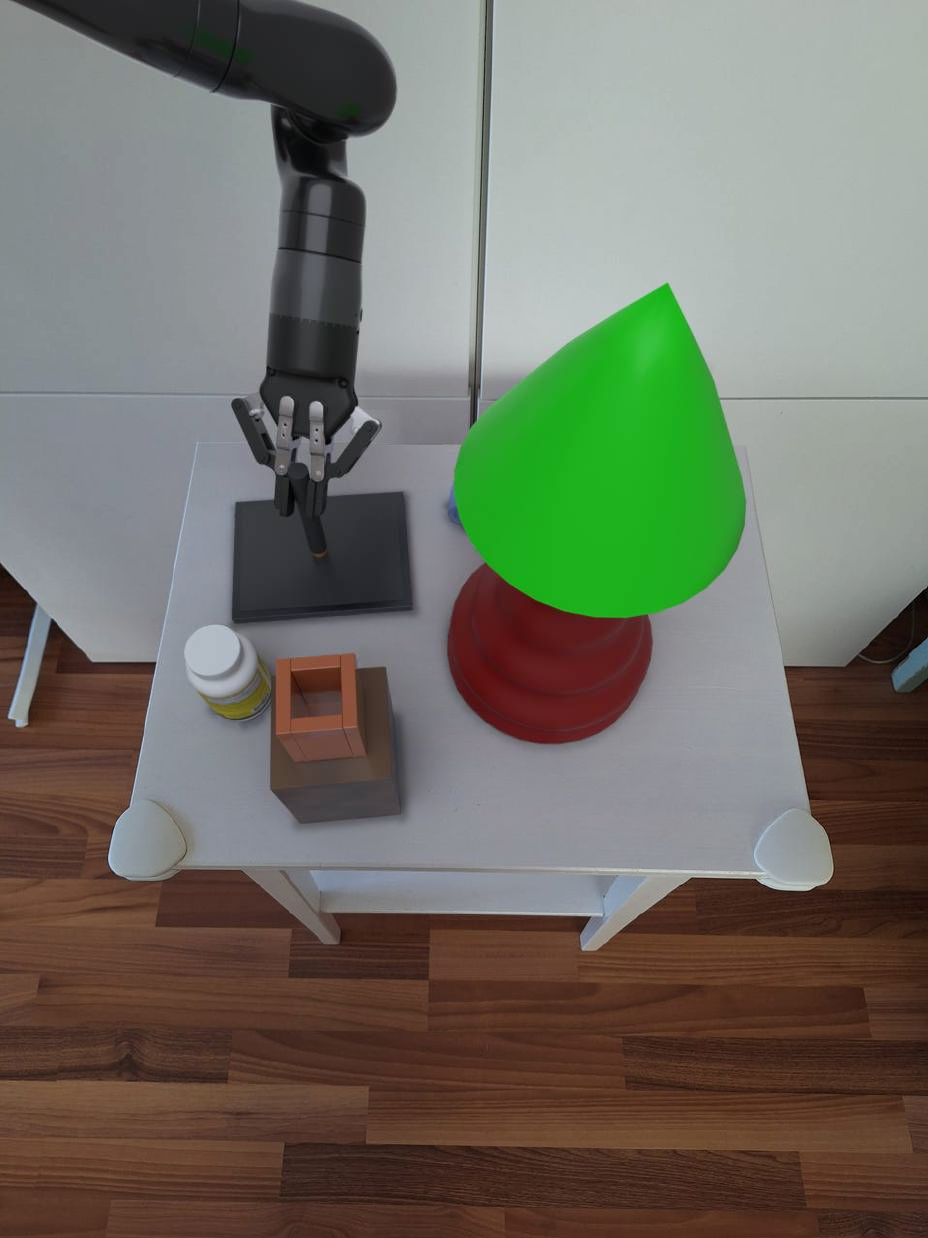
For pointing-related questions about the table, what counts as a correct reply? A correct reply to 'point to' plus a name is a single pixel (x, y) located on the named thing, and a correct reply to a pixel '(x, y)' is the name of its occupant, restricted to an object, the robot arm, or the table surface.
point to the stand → (343, 766)
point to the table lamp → (590, 522)
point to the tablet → (321, 560)
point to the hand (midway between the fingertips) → (299, 516)
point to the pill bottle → (227, 673)
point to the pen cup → (320, 707)
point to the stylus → (312, 529)
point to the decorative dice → (453, 507)
